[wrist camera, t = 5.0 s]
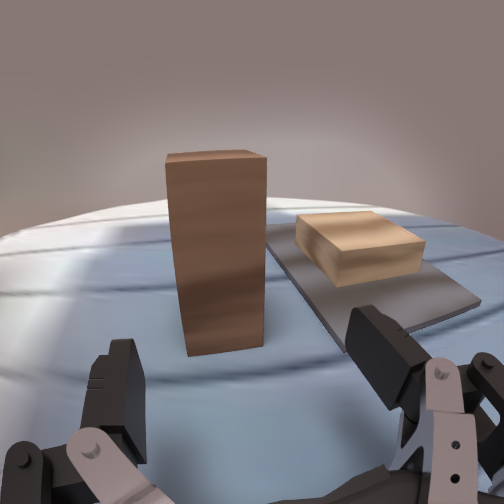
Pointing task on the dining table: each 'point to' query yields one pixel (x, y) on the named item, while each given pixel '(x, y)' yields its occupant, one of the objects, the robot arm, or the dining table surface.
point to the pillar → (219, 247)
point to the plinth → (364, 271)
